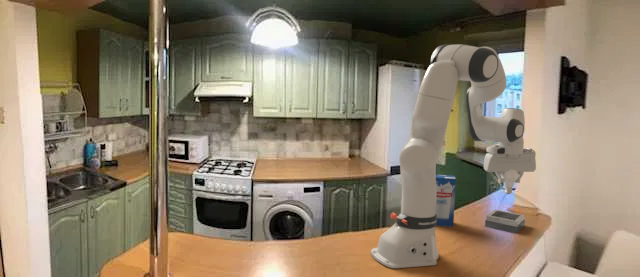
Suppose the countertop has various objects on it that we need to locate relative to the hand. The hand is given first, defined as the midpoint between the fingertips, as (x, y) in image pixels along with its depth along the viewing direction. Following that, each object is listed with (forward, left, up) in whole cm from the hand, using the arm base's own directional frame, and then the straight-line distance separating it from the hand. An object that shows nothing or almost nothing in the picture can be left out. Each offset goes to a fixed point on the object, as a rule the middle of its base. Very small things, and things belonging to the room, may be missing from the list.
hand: (508, 182), depth 152 cm
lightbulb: (0, 0, -5) cm, 5 cm away
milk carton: (-23, +12, -19) cm, 32 cm away
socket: (0, 0, -18) cm, 18 cm away
